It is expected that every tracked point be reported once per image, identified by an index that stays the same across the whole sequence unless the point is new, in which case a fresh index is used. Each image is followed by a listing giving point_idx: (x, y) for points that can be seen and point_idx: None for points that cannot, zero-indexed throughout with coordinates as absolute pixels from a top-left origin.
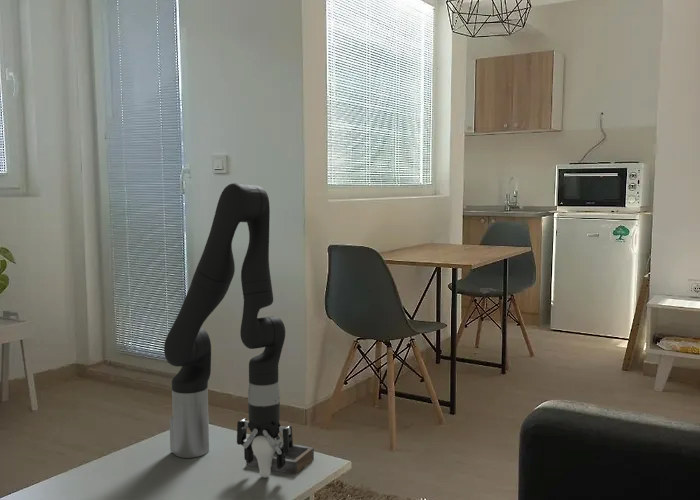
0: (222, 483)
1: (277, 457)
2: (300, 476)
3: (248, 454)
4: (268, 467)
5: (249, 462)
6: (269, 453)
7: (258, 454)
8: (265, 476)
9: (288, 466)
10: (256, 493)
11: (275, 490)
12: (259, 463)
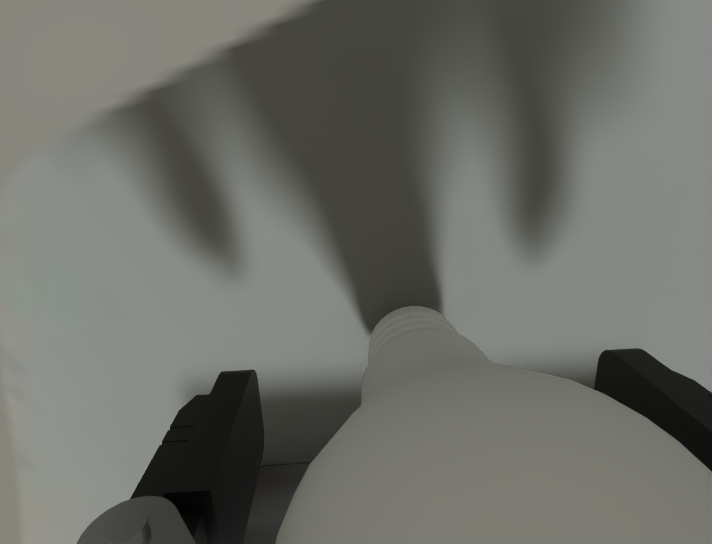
0: (700, 75)
1: (210, 456)
2: None
3: (675, 407)
4: (367, 367)
5: (602, 363)
6: (316, 457)
7: (486, 366)
8: (387, 316)
9: (282, 504)
10: (302, 32)
11: (186, 168)
12: (465, 350)
